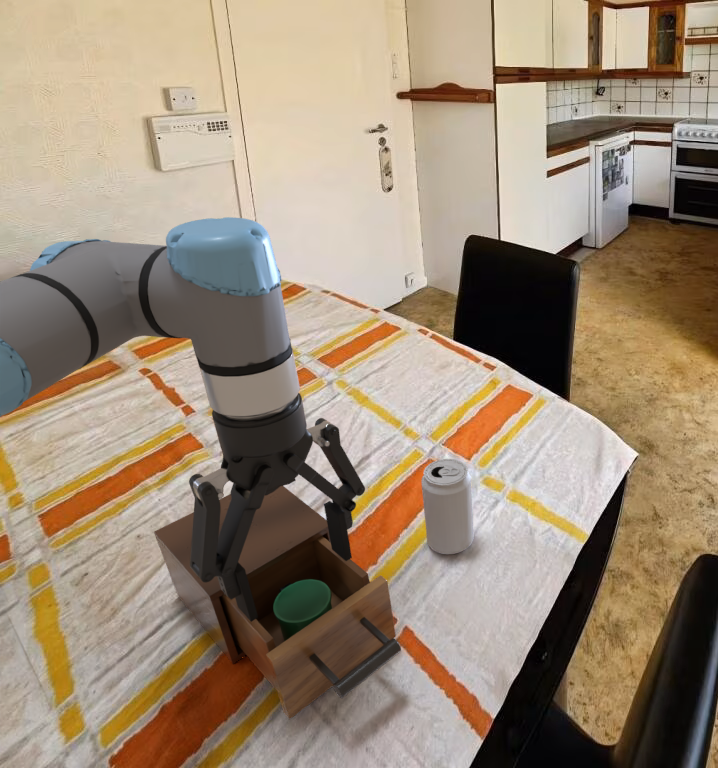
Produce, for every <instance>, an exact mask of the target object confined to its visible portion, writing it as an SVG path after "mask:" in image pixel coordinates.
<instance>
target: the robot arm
mask: <svg viewBox="0 0 718 768" xmlns="http://www.w3.org/2000/svg"><path fill="white" fill-rule="evenodd" d="M282 280H283V279H282V274H281V271H280V269H279V267H278V264H277V261H276V257H275V253H274V248H273V244H272V240H271V236H270V234H269V232H268V230H267V229H266V228H265V227H264V225H262V224H261V223H259V222H258V221H255V220H252V219H248V218H242V217H234V216H233V217H231V216H228V217H227V216H226V217H223V218H212V217H211V218H203V219H195V220H191V221H187V222H184V223H180V224H178V225H176V226H174V227H172V228H171V229H170V230H169V231H168V232H167V234H166V236H165V245H163V244H149V243H134V242H133V243H132V242H119V241H111V240H109V239H103V240H102V239H98V238H88V239H84V240H66V241H59V242H55V243H53V244H51V245H48V246H47V247H45V248H44V249H43V250H42V251H41V254H39V256H38V258H37V259H36V260H34V261H33V262H32V263H31V266H30V268H29V271H26V272H23V273H20V274H17V275H14V276H12V277H9V278H7V279H4V280H1V281H0V418H1V417H3V416H5V415H7V414H10V413H12V412H13V411H15V410H16V409H18V408H19V407H21V406H23V404H24V403H25V402H27V401H28V400H30V399H31V398H33V397H35V396H36V395H38V394H40V393H41V392H43V391H45V390H46V389H48V388H50V387H52V386H53V385H55V384H56V383H58V382H60V381H62V380H63V379H64V378H67V377H68V376H69V375H72V374H73V373H74V372H77V371H78V370H80V369H82V368H84V367H85V366H87V365H89V364H91V363H93V362H95V361H96V360H98V359H100V358H102V357H103V356H105V355H107V354H109V353H111V352H112V351H114V350H116V349H117V348H119V347H120V346H122V345H124V344H125V343H127V342H129V341H131V340H132V339H135V338H138V337H154V338H165V339H166V338H167V339H189V340H190V341H191V345H192V347H193V351H194V355H195V358H196V360H197V364H198V367H199V371H200V374H201V378H202V382H203V385H204V390H205V394H206V396H207V400H208V405H209V407H210V408H211V410H212V411H211V416H212V420H213V424H214V427H215V431H216V432H215V433H216V435H217V439H218V444H219V446H220V450H221V452H222V460H221V464H220V468H218V469H217V470H214V471H213V472H211V473H209V474H207V475H205V476H203V475H202V474H201V473H193V474H192V475H191V476H190V478H189V479H188V480H189V481H188V484H189V486H190V489H191V492H192V495H193V497H194V502H193V503H194V505H193V512H194V515H193V529H192V542H191V555H190V568H191V569H192V570H193V571H194V572H195V573H196V575H197V576H198V577H199V578H200V579H201V580H202V581H203V582H205V583H206V582H209V581H211V580H212V579H213V578H214V577H216V576H217V577H218V581H219V584H220V587H221V590H222V591H223V592H224V593H225V594H226V595H227V596H228V597H229V598H230V599H231V600H232V599H233V598H235V599H236V602H237V606H238V608H239V609H240V610H241V611H242V612H243V613H244V614H245V616H246V617H247V618H248V619H249V620H250V621H251V622H252V621H253V620H255V619H256V618H258V614H257V611H256V607H255V604H254V600H253V596H252V593H251V589H250V586H249V582H248V578H247V575H246V571H245V569H244V568H243V567H242V566H241V565H240V564H239V563H238V561H239V558H240V555H241V552H242V549H243V546H244V543H245V540H246V537H247V535H248V532H249V529H250V526H251V523H252V520H253V517H254V514H255V512H256V510H257V509H259V508H260V507H261V504H262V502H263V499H264V496H266V495H268V494H270V493H272V492H274V491H275V490H276V489H278V488H279V487H280V486H284V487H285V486H287V485H290V484H292V483H294V482H295V481H296V478H297V477H302V478H303V479H304V480H305V481H307V483H309V484H311V485H312V486H313V487H315V488H316V489H317V490H319V492H322V494H324V495H325V496H326V497H328V498H329V499H330V500H328V501H327V502H325V503H323V508H324V514H325V519H326V520H327V524H328V530H329V535H330V541H331V546H332V550H333V551H335V552H336V553H337V554H338V555H339V556H340V557H342V558H343V559H344V560H345V561H347V560H349V559H352V558H353V556H352V551H351V545H350V539H349V531H348V530H349V529H352V527H353V525H354V524H353V522H354V521H353V516H352V512H353V511H354V510H356V507H357V503H356V502H355V501H354V498H355V497H360V496H362V495H364V493H365V491H366V487H365V485H364V483H363V482H362V480H361V478H360V476H359V474H358V473H357V471H356V469H355V467H354V466H353V464H352V462H351V460H350V458H349V457H348V455H347V453H346V451H345V449H344V447H343V446H342V443H341V436H340V429H339V427H338V426H336V425H335V424H333V423H331V422H330V421H329V420H327V419H325V418H324V417H320V418H318V419H317V420H315V422H314V425H313V426H312V427H309V428H307V419H306V413H305V409H304V403H303V397H302V395H301V393H300V390H301V385H300V381H299V376H298V371H297V366H296V360H295V355H294V350H293V347H292V341H291V337H290V333H289V327H288V321H287V315H286V314H287V313H286V310H285V303H284V297H283V291H282V283H281V281H282ZM313 443H314V444H316V445H318V447H320V449H321V451H322V453H323V454H324V456H325V458H326V459H327V461H328V462H329V464H330V465H331V467H332V469H333V471H334V472H335V474H336V476H337V478H338V479H339V481H340V483H341V484H342V485H340V487H338V488H337V486H335V485H334V484H333V483H332V482H330V481H329V480H328V479H327V478H325V477H324V476H323V475H321V474H320V473H319V472H318V471H317V470H315V469H314V468H313V467H312V466H311V465H309V464H308V463H306V460H307V458H308V455H309V453H310V450H311V448H312V447H313ZM228 482H230V483H232V486H231V489H230V494H231V502H230V504H229V507H228V510H227V513H226V516H225V519H224V522H223V525H222V528H221V531H220V534H219V524H220V512H221V506H220V501H219V499H221V498H223V497H225V496H224V489H225V485H226V484H227V483H228ZM248 491H250V492H248ZM218 535H219V537H218Z"/></svg>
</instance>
